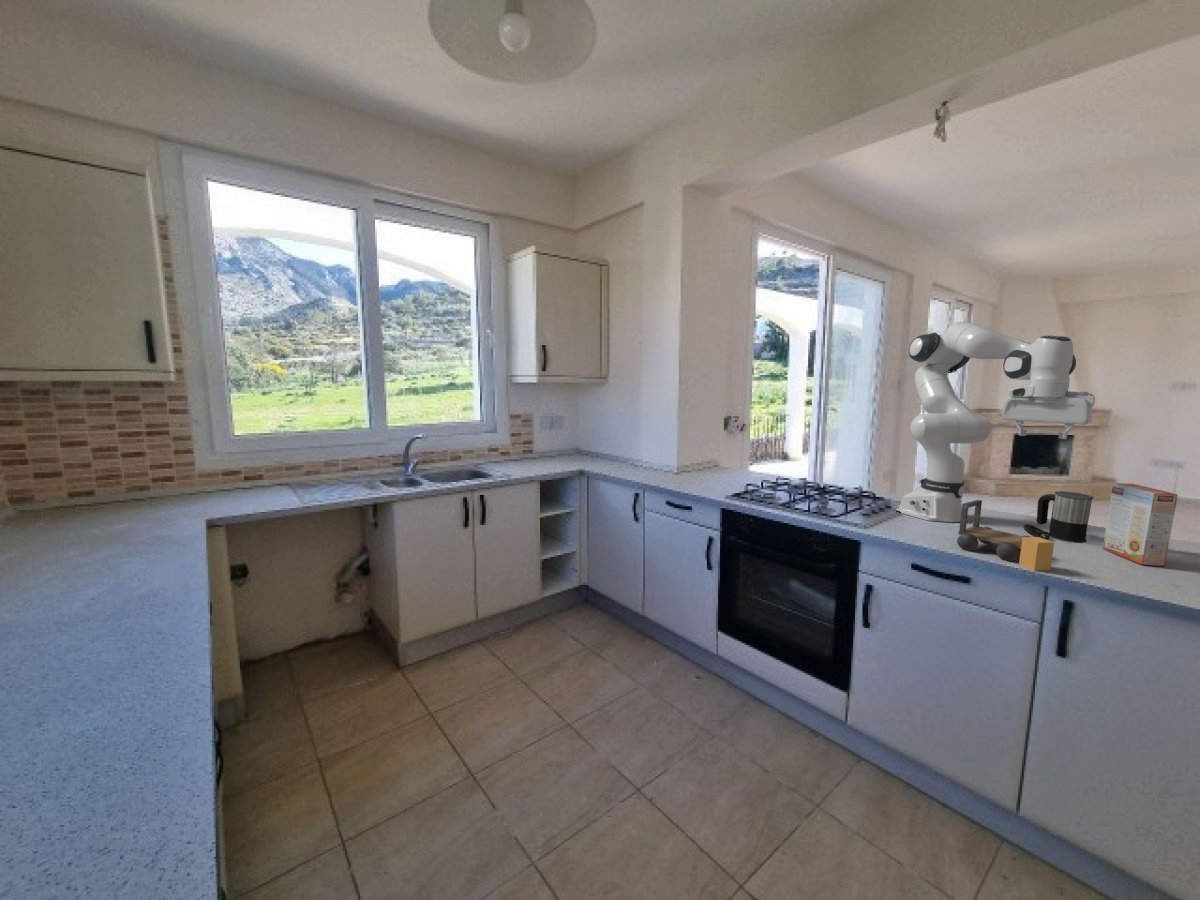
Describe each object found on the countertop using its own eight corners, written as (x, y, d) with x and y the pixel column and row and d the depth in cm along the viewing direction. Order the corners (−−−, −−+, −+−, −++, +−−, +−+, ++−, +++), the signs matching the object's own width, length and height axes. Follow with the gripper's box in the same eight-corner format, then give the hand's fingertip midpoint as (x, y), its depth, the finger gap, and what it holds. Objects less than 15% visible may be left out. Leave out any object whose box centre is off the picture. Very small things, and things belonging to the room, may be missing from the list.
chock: (1018, 564, 139) (1022, 537, 137) (1034, 564, 139) (1038, 536, 138) (1034, 571, 134) (1038, 542, 133) (1050, 570, 134) (1054, 542, 133)
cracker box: (1166, 567, 137) (1179, 493, 134) (1140, 565, 138) (1153, 492, 135) (1124, 550, 150) (1135, 483, 147) (1101, 548, 152) (1111, 482, 148)
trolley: (954, 547, 152) (959, 504, 150) (975, 539, 160) (980, 498, 158) (1018, 564, 139) (1024, 517, 137) (1038, 555, 146) (1044, 510, 144)
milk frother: (1091, 540, 160) (1098, 495, 158) (1075, 549, 151) (1082, 502, 149) (1035, 528, 172) (1040, 487, 169) (1017, 536, 163) (1023, 492, 161)
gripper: (1099, 391, 140) (1092, 440, 142) (1011, 390, 157) (1005, 433, 159) (1091, 392, 136) (1084, 441, 138) (1002, 390, 154) (997, 434, 156)
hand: (1041, 437), depth 149 cm, fingers open, 8 cm apart
